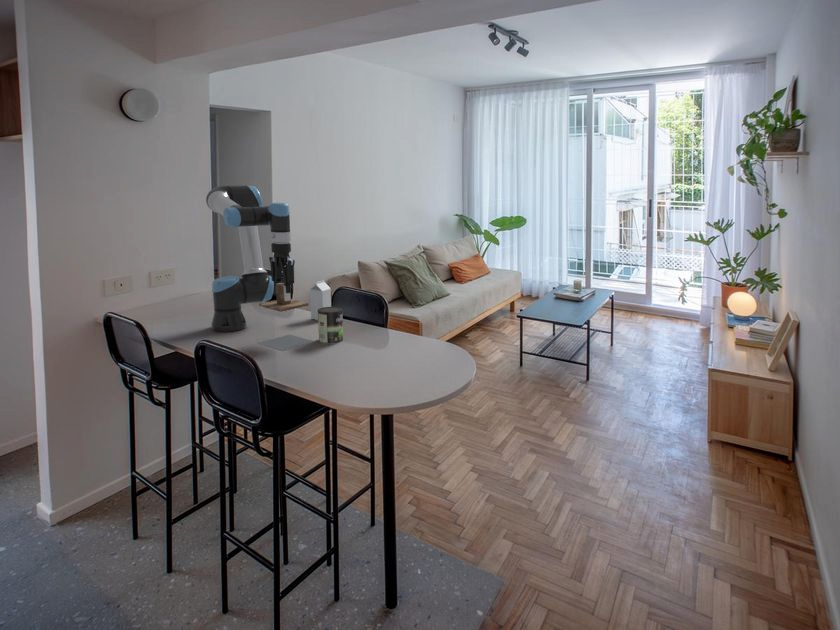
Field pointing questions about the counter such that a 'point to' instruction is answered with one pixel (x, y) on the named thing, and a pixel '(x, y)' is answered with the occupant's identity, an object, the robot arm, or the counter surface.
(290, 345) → the mat
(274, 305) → the wooden peg stand
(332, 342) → the coffee can
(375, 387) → the counter surface
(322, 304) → the milk carton
